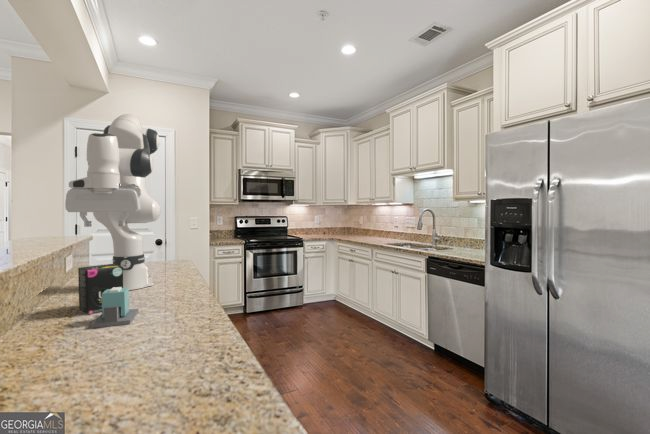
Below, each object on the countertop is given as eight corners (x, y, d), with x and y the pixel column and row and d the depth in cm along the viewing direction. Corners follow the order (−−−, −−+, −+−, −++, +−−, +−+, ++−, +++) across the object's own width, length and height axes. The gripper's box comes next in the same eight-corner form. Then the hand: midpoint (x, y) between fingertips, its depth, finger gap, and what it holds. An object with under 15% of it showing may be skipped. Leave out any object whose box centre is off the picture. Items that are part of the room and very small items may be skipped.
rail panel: (103, 315, 107) (103, 298, 107) (138, 312, 111) (138, 295, 111) (90, 328, 96) (90, 309, 96) (129, 324, 99) (129, 305, 99)
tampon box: (88, 315, 108) (86, 270, 107) (78, 309, 113) (77, 267, 113) (124, 307, 117) (123, 265, 116) (113, 302, 122) (112, 263, 122)
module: (107, 312, 105) (107, 287, 105) (129, 310, 107) (128, 285, 107) (102, 318, 100) (101, 291, 100) (124, 315, 102) (124, 289, 102)
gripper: (142, 184, 113) (143, 225, 113) (70, 183, 106) (71, 226, 107) (138, 183, 107) (139, 226, 107) (62, 182, 100) (63, 227, 101)
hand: (105, 226), depth 107 cm, fingers open, 8 cm apart
